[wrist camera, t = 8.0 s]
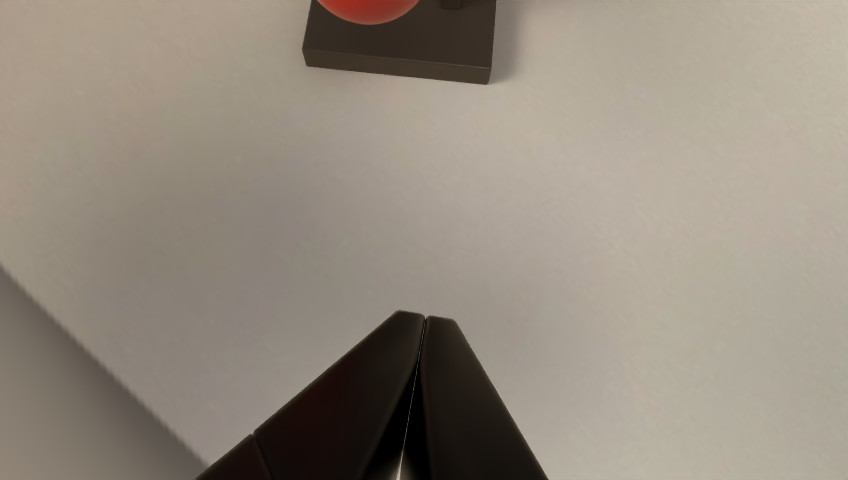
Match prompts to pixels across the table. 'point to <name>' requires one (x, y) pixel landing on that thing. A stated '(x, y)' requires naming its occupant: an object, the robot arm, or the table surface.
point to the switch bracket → (408, 41)
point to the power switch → (368, 9)
